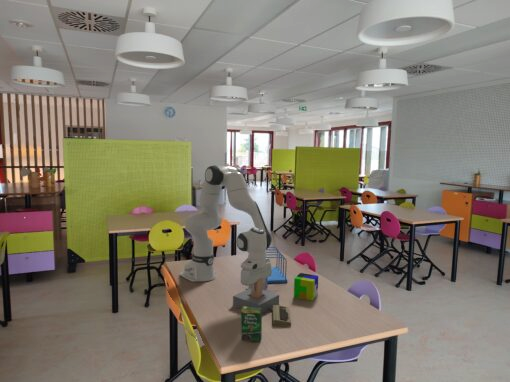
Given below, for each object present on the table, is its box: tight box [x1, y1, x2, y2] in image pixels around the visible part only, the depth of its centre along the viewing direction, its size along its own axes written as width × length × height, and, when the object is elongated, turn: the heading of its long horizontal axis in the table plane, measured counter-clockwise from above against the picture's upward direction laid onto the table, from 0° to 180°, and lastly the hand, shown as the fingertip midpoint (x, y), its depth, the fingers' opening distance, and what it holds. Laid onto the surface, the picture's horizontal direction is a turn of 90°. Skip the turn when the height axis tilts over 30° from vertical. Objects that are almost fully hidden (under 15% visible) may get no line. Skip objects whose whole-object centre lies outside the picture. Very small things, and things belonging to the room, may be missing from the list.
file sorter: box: [266, 246, 288, 284], centre depth 216 cm, size 25×17×15 cm
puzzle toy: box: [293, 272, 319, 301], centre depth 188 cm, size 10×10×10 cm
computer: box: [271, 304, 292, 327], centre depth 161 cm, size 16×8×3 cm, turn 178°
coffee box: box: [240, 306, 263, 343], centre depth 141 cm, size 8×3×13 cm, turn 76°
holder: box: [232, 288, 280, 315], centre depth 174 cm, size 16×16×5 cm
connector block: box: [251, 278, 263, 299], centre depth 174 cm, size 4×4×10 cm
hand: (256, 289), depth 174 cm, fingers closed on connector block, 4 cm apart
